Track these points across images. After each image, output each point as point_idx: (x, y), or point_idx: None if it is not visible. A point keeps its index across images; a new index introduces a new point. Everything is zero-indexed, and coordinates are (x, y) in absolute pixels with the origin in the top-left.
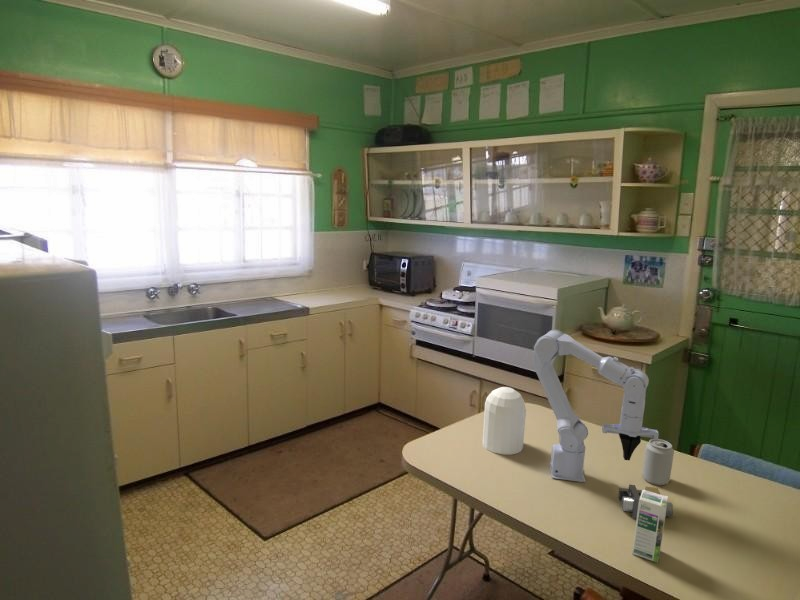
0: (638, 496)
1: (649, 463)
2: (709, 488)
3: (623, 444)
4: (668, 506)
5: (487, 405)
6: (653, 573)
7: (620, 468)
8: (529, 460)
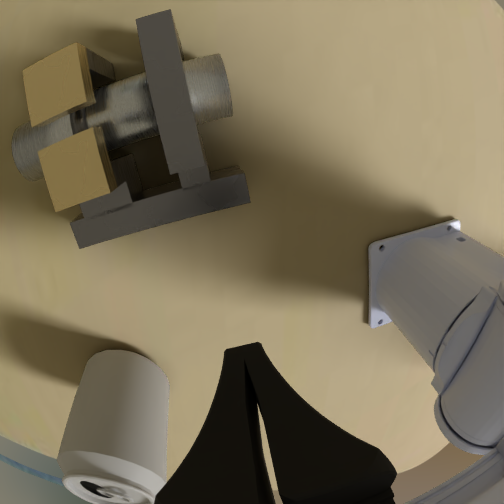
0: (149, 44)
1: (138, 411)
2: (11, 377)
3: (333, 430)
4: (26, 130)
5: None
6: None
7: None
8: None
